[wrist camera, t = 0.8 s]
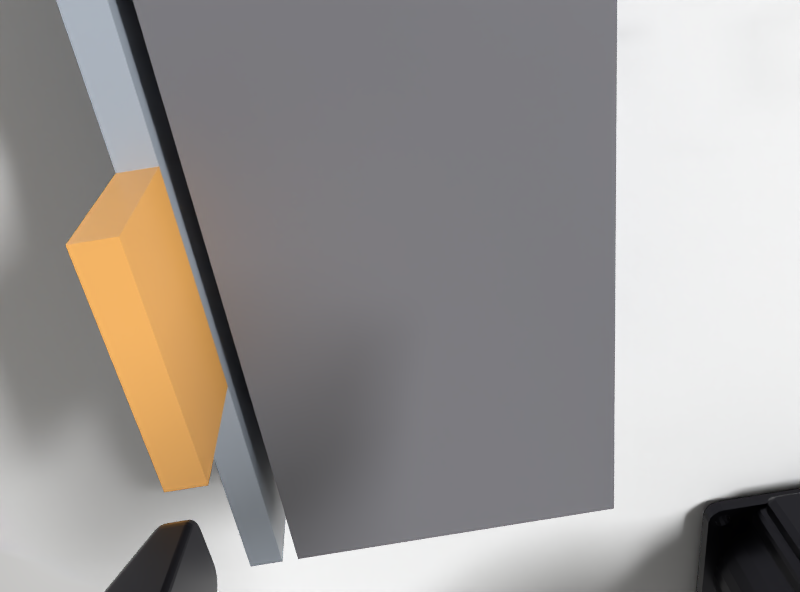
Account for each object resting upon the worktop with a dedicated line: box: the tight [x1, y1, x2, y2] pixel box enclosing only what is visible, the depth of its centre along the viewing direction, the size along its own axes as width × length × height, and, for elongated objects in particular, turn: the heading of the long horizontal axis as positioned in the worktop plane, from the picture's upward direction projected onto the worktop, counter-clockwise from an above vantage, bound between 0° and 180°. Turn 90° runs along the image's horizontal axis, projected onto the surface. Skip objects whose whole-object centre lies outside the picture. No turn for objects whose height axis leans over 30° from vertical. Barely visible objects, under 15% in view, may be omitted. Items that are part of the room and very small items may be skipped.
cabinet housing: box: [133, 0, 617, 559], centre depth 17 cm, size 17×8×5 cm, turn 8°
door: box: [56, 0, 286, 566], centre depth 16 cm, size 16×1×8 cm, turn 8°
